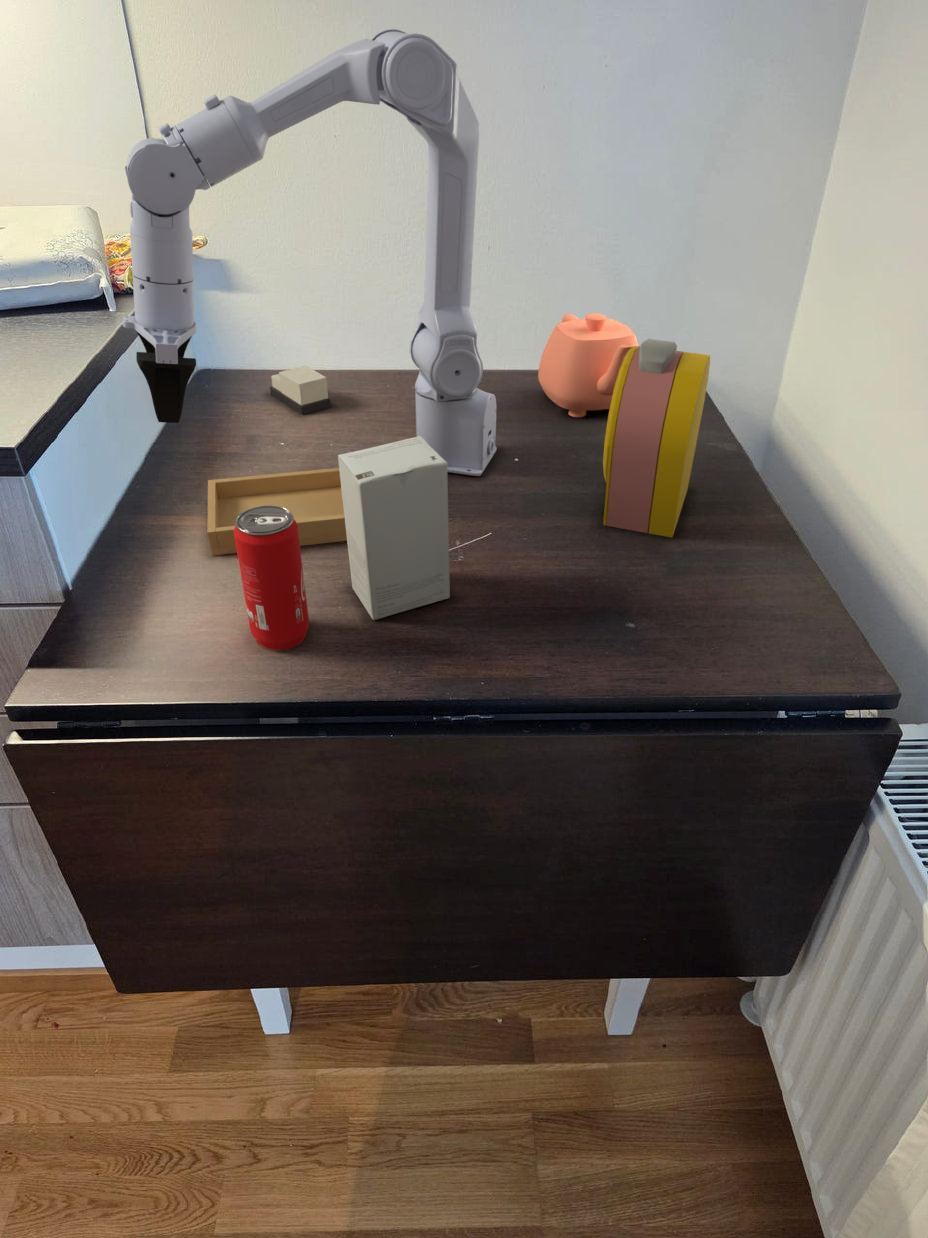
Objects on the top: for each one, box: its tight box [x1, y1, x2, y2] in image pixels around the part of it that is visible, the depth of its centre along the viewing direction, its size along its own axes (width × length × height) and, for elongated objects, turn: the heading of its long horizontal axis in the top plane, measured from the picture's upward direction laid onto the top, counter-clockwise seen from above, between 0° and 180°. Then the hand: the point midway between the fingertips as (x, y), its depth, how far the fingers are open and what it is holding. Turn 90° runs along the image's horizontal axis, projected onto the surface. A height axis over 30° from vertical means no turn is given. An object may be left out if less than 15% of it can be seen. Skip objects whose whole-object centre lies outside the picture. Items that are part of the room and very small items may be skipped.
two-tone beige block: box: [269, 365, 332, 415], centre depth 121 cm, size 9×5×4 cm, turn 38°
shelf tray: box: [207, 467, 347, 557], centre depth 94 cm, size 16×12×3 cm
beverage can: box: [234, 506, 310, 652], centre depth 75 cm, size 5×5×12 cm
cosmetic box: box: [337, 436, 451, 621], centre depth 79 cm, size 8×6×15 cm
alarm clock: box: [602, 338, 711, 538], centre depth 93 cm, size 15×8×18 cm, turn 160°
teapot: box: [537, 312, 639, 418], centre depth 118 cm, size 13×20×12 cm, turn 18°
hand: (167, 407), depth 94 cm, fingers open, 7 cm apart
